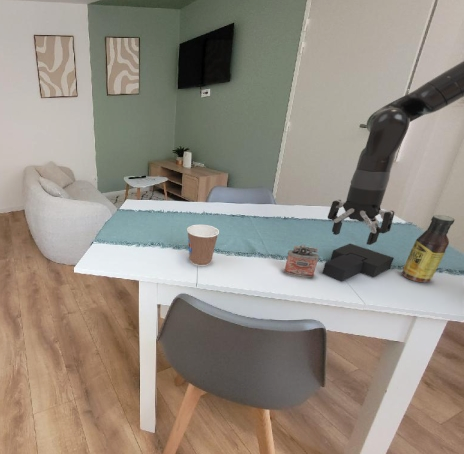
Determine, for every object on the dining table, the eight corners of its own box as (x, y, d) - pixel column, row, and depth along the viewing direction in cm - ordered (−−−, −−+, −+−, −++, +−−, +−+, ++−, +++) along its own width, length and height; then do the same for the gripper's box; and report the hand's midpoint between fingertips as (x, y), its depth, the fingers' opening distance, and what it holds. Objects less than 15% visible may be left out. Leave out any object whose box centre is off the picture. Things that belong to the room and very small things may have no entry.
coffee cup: (189, 252, 109) (191, 222, 104) (218, 257, 104) (221, 227, 99) (181, 264, 101) (183, 233, 96) (212, 271, 96) (215, 238, 91)
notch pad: (389, 268, 92) (394, 257, 91) (373, 277, 88) (377, 266, 87) (346, 253, 102) (350, 243, 101) (330, 260, 98) (333, 250, 97)
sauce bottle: (397, 270, 91) (421, 211, 83) (424, 274, 88) (452, 213, 80) (406, 281, 86) (432, 219, 78) (435, 286, 83) (465, 222, 75)
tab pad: (364, 270, 92) (368, 259, 90) (341, 281, 87) (345, 270, 86) (345, 262, 97) (348, 252, 95) (322, 273, 92) (325, 262, 90)
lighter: (283, 274, 92) (290, 246, 88) (283, 269, 95) (289, 242, 91) (314, 279, 89) (322, 251, 85) (312, 274, 91) (320, 246, 88)
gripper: (408, 188, 76) (388, 244, 82) (346, 179, 87) (332, 228, 94) (394, 193, 73) (374, 251, 79) (331, 182, 84) (319, 233, 91)
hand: (352, 238), depth 86 cm, fingers open, 8 cm apart
